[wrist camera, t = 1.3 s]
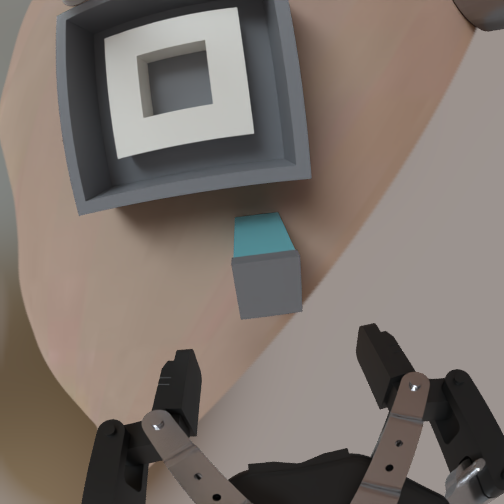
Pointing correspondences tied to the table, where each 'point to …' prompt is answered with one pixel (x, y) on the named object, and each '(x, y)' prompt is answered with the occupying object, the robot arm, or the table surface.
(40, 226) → the table surface
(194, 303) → the table surface
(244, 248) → the peg
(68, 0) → the chalice
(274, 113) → the walled box
